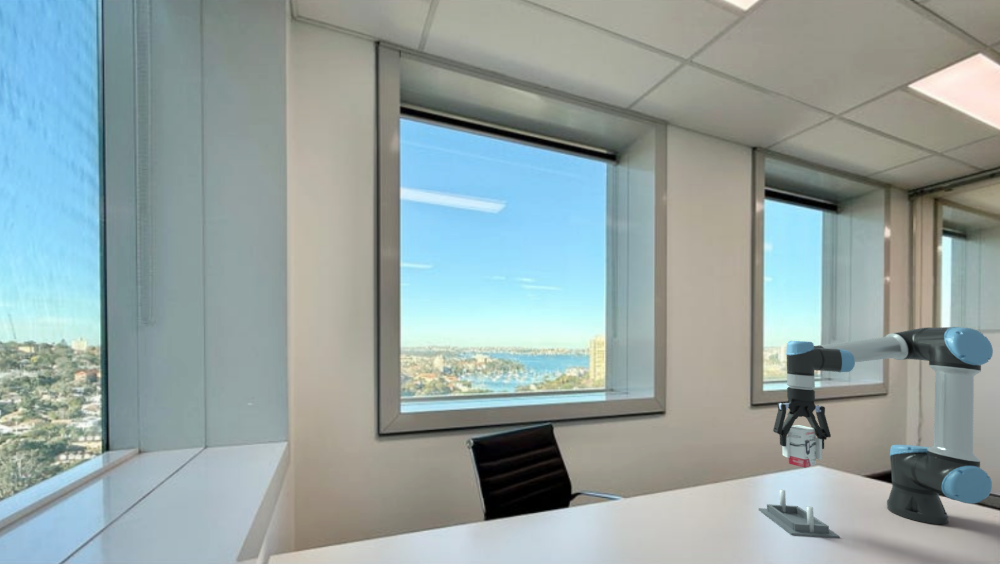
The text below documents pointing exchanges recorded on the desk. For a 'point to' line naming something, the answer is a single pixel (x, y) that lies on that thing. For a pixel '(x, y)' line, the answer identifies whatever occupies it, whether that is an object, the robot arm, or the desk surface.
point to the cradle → (797, 519)
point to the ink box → (802, 446)
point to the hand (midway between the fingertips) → (802, 457)
